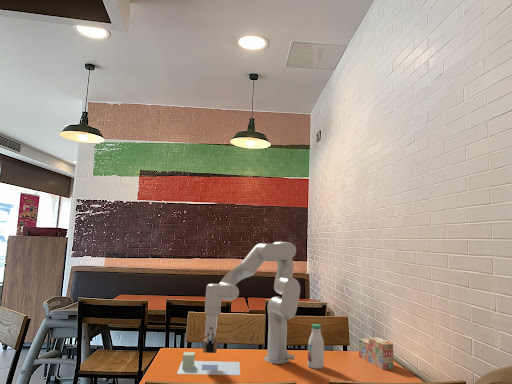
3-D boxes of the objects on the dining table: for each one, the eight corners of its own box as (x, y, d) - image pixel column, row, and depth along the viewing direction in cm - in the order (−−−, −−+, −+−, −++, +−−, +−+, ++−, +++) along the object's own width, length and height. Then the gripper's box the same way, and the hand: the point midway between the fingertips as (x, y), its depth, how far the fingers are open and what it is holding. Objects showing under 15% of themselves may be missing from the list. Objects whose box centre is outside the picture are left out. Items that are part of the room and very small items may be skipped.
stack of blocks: (358, 356, 211) (358, 333, 212) (368, 356, 213) (368, 332, 214) (382, 370, 191) (382, 343, 192) (393, 369, 193) (393, 343, 194)
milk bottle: (325, 365, 193) (326, 324, 195) (321, 370, 186) (322, 327, 188) (310, 363, 196) (311, 322, 198) (305, 367, 189) (306, 325, 191)
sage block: (194, 365, 184) (194, 352, 184) (193, 368, 179) (193, 355, 179) (183, 365, 183) (184, 351, 184) (182, 368, 178) (183, 355, 179)
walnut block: (216, 349, 185) (217, 338, 186) (216, 353, 179) (216, 341, 180) (204, 348, 185) (204, 337, 186) (203, 352, 179) (203, 341, 180)
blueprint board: (239, 363, 191) (239, 361, 191) (240, 376, 173) (240, 374, 173) (182, 361, 190) (182, 360, 190) (176, 375, 172) (176, 373, 172)
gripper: (206, 306, 193) (203, 344, 191) (203, 313, 176) (200, 355, 174) (221, 307, 193) (218, 345, 191) (220, 314, 176) (217, 355, 174)
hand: (210, 349), depth 182 cm, fingers closed on walnut block, 6 cm apart
